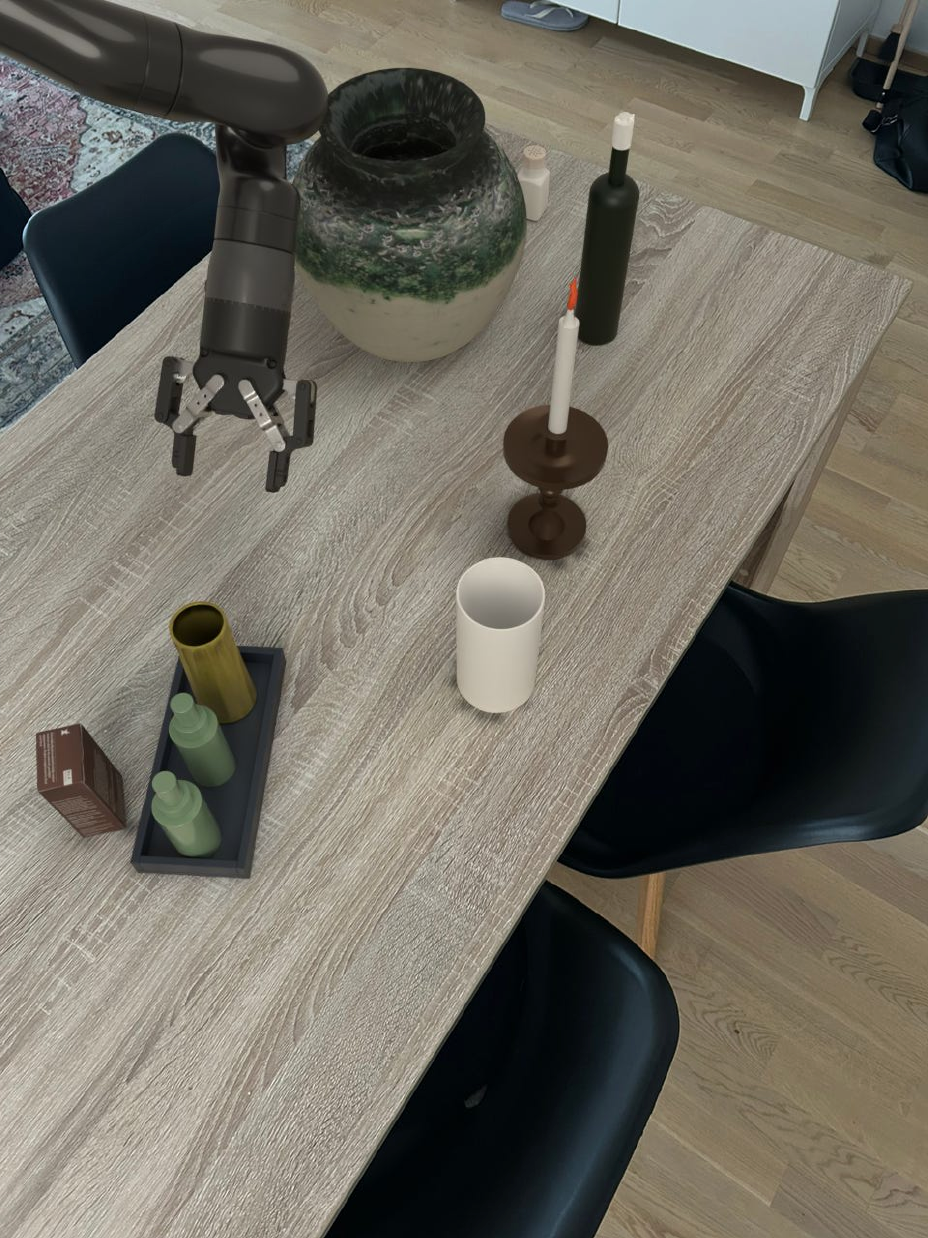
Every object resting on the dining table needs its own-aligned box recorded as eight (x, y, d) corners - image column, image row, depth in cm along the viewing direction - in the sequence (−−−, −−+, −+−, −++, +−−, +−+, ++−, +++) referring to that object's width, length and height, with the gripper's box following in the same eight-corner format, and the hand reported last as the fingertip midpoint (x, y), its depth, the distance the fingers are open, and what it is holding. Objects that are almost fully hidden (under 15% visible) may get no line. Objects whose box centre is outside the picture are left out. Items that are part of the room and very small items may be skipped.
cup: (519, 636, 112) (527, 547, 98) (546, 700, 108) (558, 617, 94) (446, 656, 110) (444, 569, 97) (470, 722, 106) (471, 641, 93)
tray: (137, 873, 98) (129, 863, 95) (187, 656, 110) (181, 642, 108) (249, 879, 97) (244, 869, 95) (286, 661, 110) (282, 647, 108)
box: (76, 784, 102) (33, 730, 92) (123, 775, 103) (85, 720, 93) (79, 842, 99) (35, 792, 89) (126, 831, 100) (88, 781, 90)
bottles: (170, 860, 98) (131, 805, 86) (195, 745, 104) (162, 679, 92) (217, 863, 97) (184, 807, 86) (239, 747, 104) (211, 681, 92)
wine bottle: (623, 341, 136) (659, 126, 110) (581, 349, 135) (608, 134, 110) (609, 311, 139) (641, 96, 113) (567, 319, 138) (591, 103, 113)
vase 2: (519, 258, 145) (531, 41, 119) (521, 409, 129) (535, 197, 104) (315, 255, 145) (284, 39, 119) (293, 405, 130) (252, 194, 104)
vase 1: (269, 696, 107) (245, 622, 95) (223, 736, 104) (192, 665, 92) (230, 661, 109) (202, 584, 97) (185, 699, 107) (149, 625, 95)
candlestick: (524, 478, 123) (543, 226, 94) (608, 512, 121) (655, 263, 91) (482, 544, 118) (489, 299, 89) (569, 580, 116) (606, 340, 86)
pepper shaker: (548, 207, 151) (553, 147, 143) (538, 223, 149) (542, 163, 141) (523, 200, 151) (526, 140, 143) (512, 216, 149) (515, 156, 141)
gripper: (338, 317, 94) (314, 494, 98) (189, 292, 96) (172, 467, 100) (313, 310, 87) (288, 501, 91) (153, 283, 89) (135, 472, 92)
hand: (227, 483), depth 95 cm, fingers open, 8 cm apart
